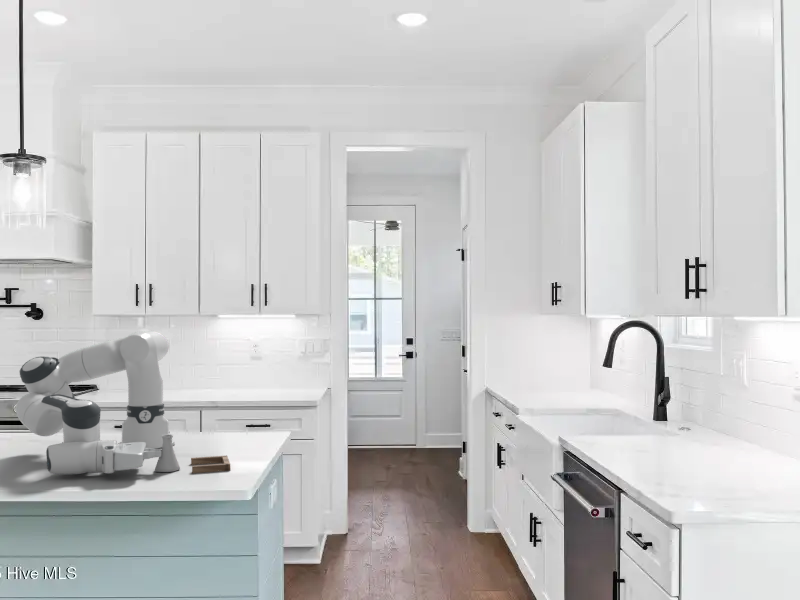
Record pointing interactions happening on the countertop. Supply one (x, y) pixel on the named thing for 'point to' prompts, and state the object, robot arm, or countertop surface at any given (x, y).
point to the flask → (167, 456)
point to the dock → (211, 467)
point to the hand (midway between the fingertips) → (161, 452)
